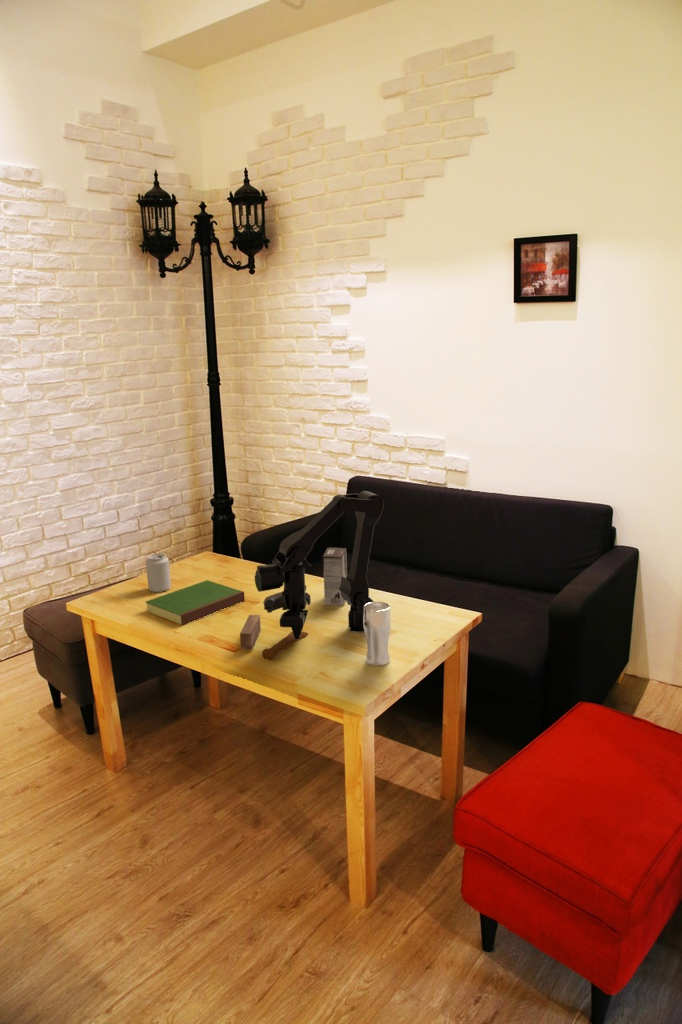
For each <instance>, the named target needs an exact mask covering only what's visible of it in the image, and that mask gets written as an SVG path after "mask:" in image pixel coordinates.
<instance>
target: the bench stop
mask: <svg viewBox="0 0 682 1024" xmlns="http://www.w3.org/2000/svg"><path fill="white" fill-rule="evenodd" d="M261 629H262V628H261V614H249V615H248V616H247V619H246V621H245V622H244V625H243V627H242V629H241V631H240V632H239V642H240V651H241V650H252V649H253V650H254V648H253V647H255V646H256V643H257V641H258V639H257V638H259V636H260V634H261V632H260V631H262V630H261ZM259 633H260V634H259ZM256 640H257V641H256ZM255 642H256V643H255ZM253 650H252V651H253Z"/></svg>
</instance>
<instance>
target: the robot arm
mask: <svg viewBox="0 0 682 1024" xmlns="http://www.w3.org/2000/svg"><path fill="white" fill-rule="evenodd" d="M331 499H332V500H330V501H329V502H328V503H327V504H326V505H325V507H324V508H322V509H321V510H320V511H319V512H318V513H317V514H316V515H315V516H314V517H313V518H312V519H311V520H310V521H309V522H308V523H307V524H306V525H305V526H303V528H301V529H300V530H298V531H295V532H293V533H291V534H290V535H288V536H287V537H286V538H285V539H283V540H282V541H281V542H280V544H279V550H278V551H277V553H276V555H275V556H274V557H273V559H272V563H271V564H263V565H262V564H260V565H257V566H256V571H255V574H254V582H255V587H256V589H257V592H258V593H259V592H260V593H261V592H266V591H271V590H272V591H273V590H277V589H281V588H282V587H283V590H282V591H281V592H277V593H274V594H272V595H271V594H270V595H268V596H266V597H265V598H264V600H263V605H264V606H263V609H264V611H266V612H267V613H268V614H271V613H272V612H273V611H277V610H280V609H282V611H283V613H281V615H280V618H279V627H280V628H291V632H293V634H294V637H295V639H299V637H300V634H301V632H303V628H304V627H305V622H306V620H307V616H308V613H309V610H308V609H306V608H307V607H306V606H310V604H311V600H312V599H311V595H310V594H309V593H308V592H306V590H307V585H306V577H305V573H306V572H305V570H306V569H312V567H313V566H312V564H311V563H309V562H308V561H307V559H306V558H307V556H309V554H310V552H311V551H312V549H313V546H314V544H315V542H316V541H317V540H318V538H320V537H321V536H322V535H323V534H324V533H325V532H326V531H327V530H328V529H329V528H330V527H331V526H332V525H333V524H334V523H335V522H336V521H337V520H338V519H340V517H341V516H342V515H343V514H345V512H354V513H355V518H356V522H357V523H356V524H357V525H356V530H355V535H354V543H353V548H352V556H351V560H350V562H351V563H350V568H349V571H348V573H347V577H341V586H340V588H339V590H340V591H341V596H342V597H343V599H344V600H346V604H347V605H349V606H350V609H349V611H348V614H347V615H348V616H347V617H348V618H347V619H348V628H349V632H350V633H365V632H364V625H363V613H364V605H365V604H367V603H370V602H375V601H374V600H373V599H372V598H370V586H369V582H368V581H369V580H368V577H367V573H368V566H369V562H370V555H371V548H372V543H373V538H374V537H373V535H374V530H375V525H376V524H377V523H378V521H379V520H380V519H381V516H382V514H383V510H384V507H385V506H384V505H385V503H384V500H383V498H382V496H381V495H378V494H375V493H373V492H371V491H367V490H363V491H360V492H359V493H348V494H340V493H339V494H336V495H334V496H333V498H331ZM285 559H286V560H285ZM284 560H285V561H284Z"/></svg>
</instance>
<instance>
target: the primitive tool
mask: <svg viewBox="0 0 682 1024" xmlns="http://www.w3.org/2000/svg"><path fill="white" fill-rule="evenodd" d="M308 636H309V632H307V631H301V634H300V637H299V639H295V637H294V634H293V631H290V633H288V634H287V635H286V636H285V637H283V638H282V639H281V640H279V641H277V643H275V644H274V645H273V646H270V647H269V648H264V649H263V650H262V652H261V656H262V657H261V658H264V660H265V659H267V660H266V661H272V660H274V658H275V656H277V655H278V654H279V652H280V653H282V650H283V651H284V650H286V649H287V648H289V647H291V646H293V645H295V644H296V643H297V642H299V641H301V640H302V639H305V638H306V637H308Z"/></svg>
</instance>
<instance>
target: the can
mask: <svg viewBox="0 0 682 1024" xmlns="http://www.w3.org/2000/svg"><path fill="white" fill-rule="evenodd" d="M146 558H147V559H146V561H145V569H146V579H147V586H148V590H150V591H151V592H152V593H164V592H167V591H169V590H170V588H171V587H172V580H171V571H170V561H169V560H170V559H169V558H168V557H167V555H166V553H153V554H149V555H148V556H147V557H146ZM166 590H167V591H166ZM163 591H164V592H163Z"/></svg>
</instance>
